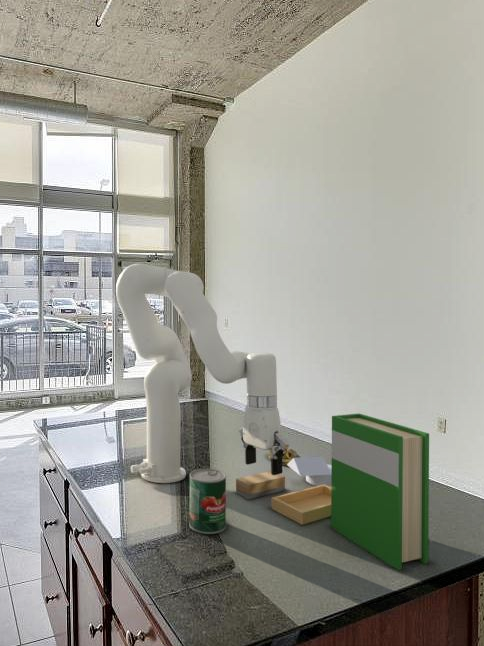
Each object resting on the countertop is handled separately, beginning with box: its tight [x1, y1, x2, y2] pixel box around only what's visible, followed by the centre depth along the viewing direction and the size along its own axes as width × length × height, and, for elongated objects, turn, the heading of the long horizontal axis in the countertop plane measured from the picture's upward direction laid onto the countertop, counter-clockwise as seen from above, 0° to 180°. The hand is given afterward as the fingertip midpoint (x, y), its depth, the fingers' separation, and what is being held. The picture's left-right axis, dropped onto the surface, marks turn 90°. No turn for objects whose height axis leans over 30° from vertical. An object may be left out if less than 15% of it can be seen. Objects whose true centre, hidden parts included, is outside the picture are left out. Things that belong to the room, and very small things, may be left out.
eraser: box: [235, 470, 286, 500], centre depth 123 cm, size 12×5×4 cm, turn 120°
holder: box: [271, 484, 331, 525], centre depth 113 cm, size 18×10×3 cm, turn 120°
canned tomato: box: [188, 468, 227, 535], centre depth 104 cm, size 8×8×11 cm
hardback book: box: [330, 412, 430, 570], centre depth 97 cm, size 18×7×24 cm, turn 21°
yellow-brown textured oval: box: [267, 448, 301, 467], centre depth 149 cm, size 9×5×15 cm
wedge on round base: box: [287, 456, 332, 487], centre depth 131 cm, size 9×7×13 cm
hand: (263, 468), depth 123 cm, fingers open, 9 cm apart
